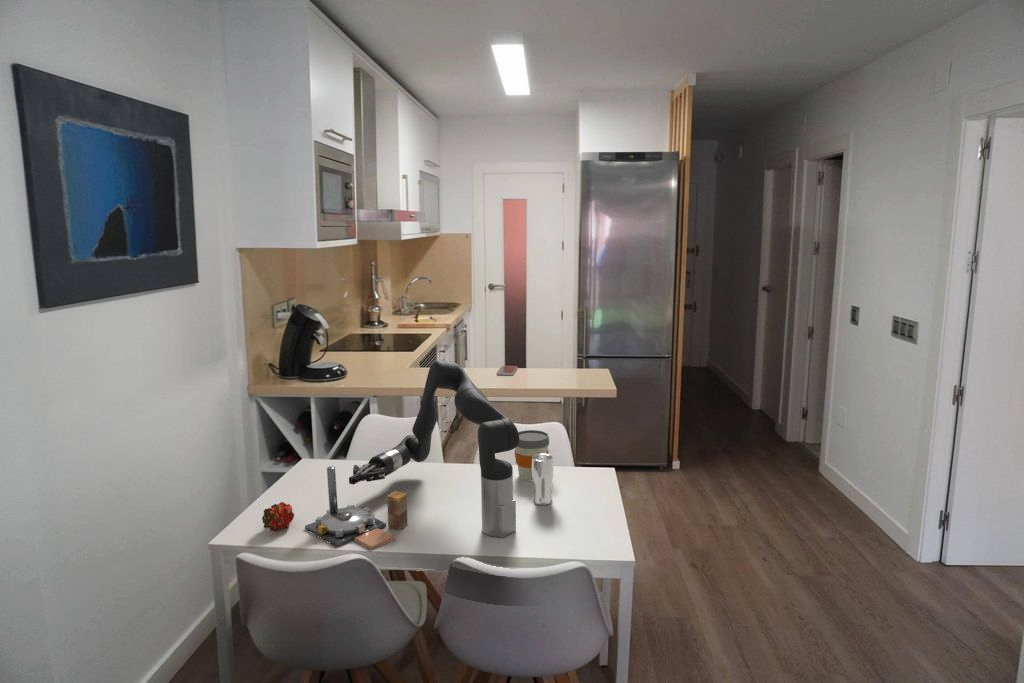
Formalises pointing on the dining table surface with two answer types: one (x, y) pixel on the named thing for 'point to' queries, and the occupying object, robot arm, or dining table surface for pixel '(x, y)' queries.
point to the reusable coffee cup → (530, 450)
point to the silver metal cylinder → (542, 478)
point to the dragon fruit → (278, 516)
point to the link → (397, 510)
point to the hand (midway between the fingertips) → (350, 481)
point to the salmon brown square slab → (374, 538)
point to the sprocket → (342, 514)
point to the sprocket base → (347, 537)
